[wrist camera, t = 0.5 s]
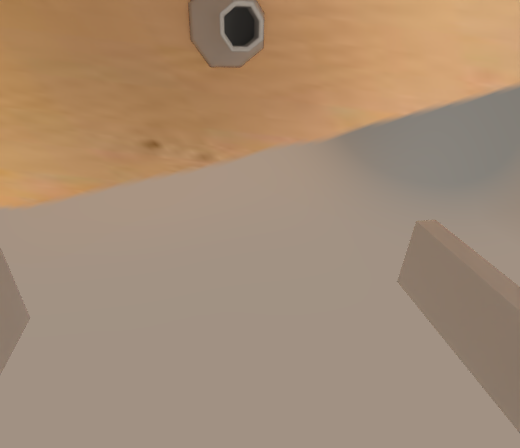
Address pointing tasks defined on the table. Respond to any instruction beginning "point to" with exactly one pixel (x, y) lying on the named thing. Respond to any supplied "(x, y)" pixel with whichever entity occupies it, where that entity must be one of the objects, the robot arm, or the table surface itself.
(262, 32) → the flask
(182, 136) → the table surface
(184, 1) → the table surface
